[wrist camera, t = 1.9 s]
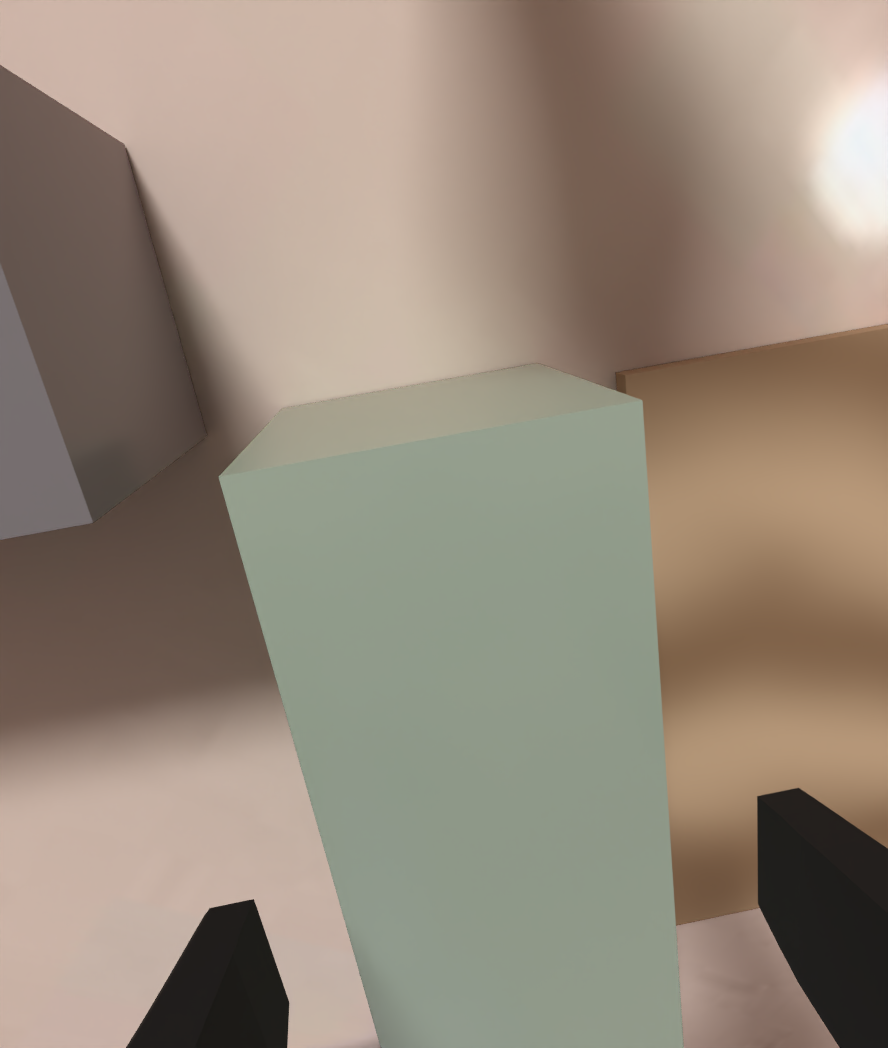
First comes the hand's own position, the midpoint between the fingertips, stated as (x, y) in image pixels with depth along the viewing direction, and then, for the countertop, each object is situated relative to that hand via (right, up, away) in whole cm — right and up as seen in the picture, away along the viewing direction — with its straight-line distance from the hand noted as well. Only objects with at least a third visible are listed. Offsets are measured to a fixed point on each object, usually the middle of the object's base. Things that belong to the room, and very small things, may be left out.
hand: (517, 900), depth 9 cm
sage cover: (-1, +2, +7) cm, 7 cm away
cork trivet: (+8, +2, +8) cm, 12 cm away
